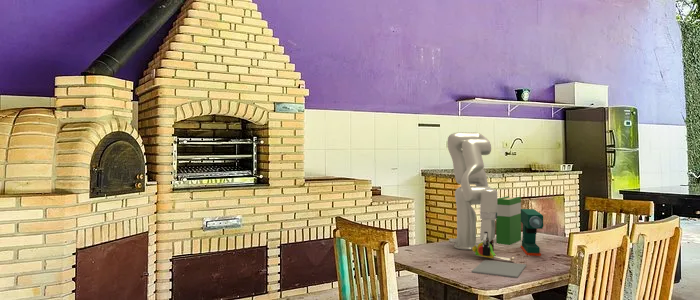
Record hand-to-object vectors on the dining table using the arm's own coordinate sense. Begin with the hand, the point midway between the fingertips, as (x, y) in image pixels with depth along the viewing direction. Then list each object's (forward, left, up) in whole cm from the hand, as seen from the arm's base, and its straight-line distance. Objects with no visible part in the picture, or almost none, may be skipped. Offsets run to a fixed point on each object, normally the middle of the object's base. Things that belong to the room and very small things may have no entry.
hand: (488, 253), depth 218 cm
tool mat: (+9, -17, -2) cm, 19 cm away
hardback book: (+1, +46, -3) cm, 46 cm away
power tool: (+17, +19, -3) cm, 26 cm away
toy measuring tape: (+2, 0, -2) cm, 3 cm away
